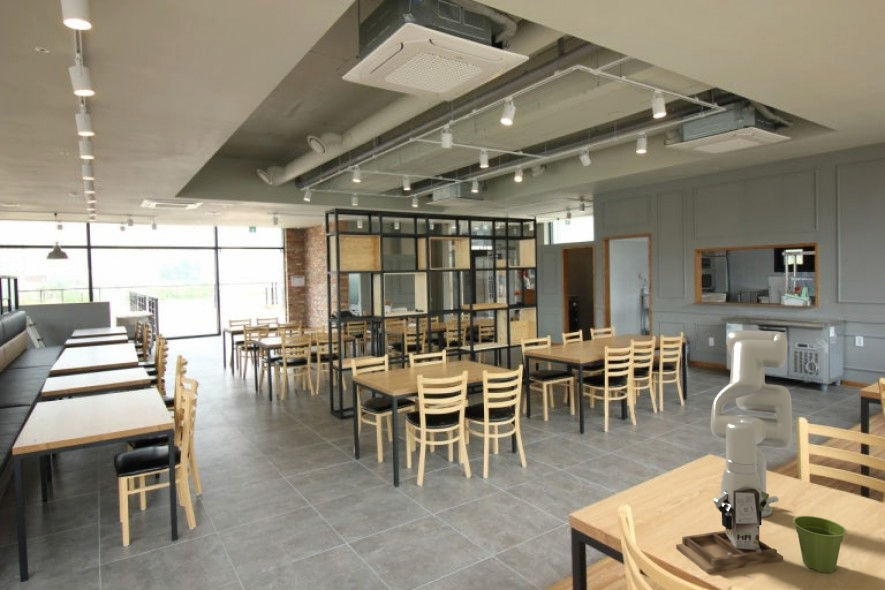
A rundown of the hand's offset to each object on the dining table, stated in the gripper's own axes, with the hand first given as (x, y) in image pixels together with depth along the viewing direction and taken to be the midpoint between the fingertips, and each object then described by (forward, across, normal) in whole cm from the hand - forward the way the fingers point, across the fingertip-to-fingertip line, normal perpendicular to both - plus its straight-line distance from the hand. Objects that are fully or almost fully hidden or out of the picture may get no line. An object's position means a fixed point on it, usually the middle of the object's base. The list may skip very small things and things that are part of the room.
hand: (741, 525), depth 150 cm
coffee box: (+5, 0, 0) cm, 5 cm away
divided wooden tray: (+8, +4, 0) cm, 9 cm away
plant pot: (+8, -15, +11) cm, 20 cm away
